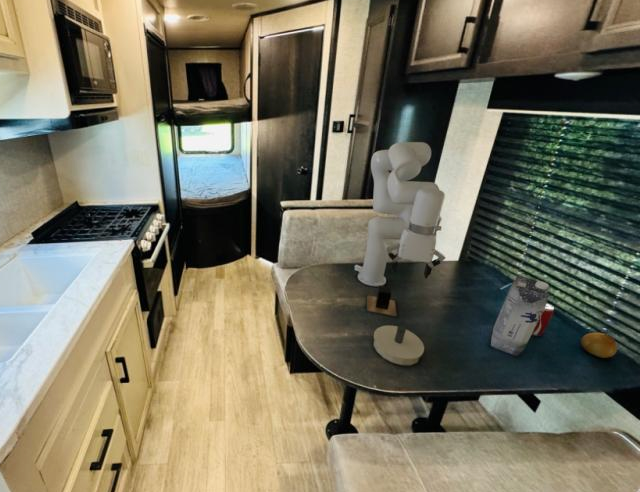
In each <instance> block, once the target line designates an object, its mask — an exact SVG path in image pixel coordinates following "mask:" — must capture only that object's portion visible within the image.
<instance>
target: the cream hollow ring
mask: <svg viewBox="0 0 640 492" xmlns="http://www.w3.org/2000/svg"><path fill="white" fill-rule="evenodd" d="M373 347H374V349H375V351H376V353H378V354H379V355H380V356H381V357H382V358H383V359H385V360H387V361H388V362H390V363H392V364H396V365H400V366H412V365H414V364H417V363H418V362H419V360H420V359H421V357H422V356H420V357H419V358H417V359H412V360H405V359H400V358H396V357H394V356H391V355H389V354H388V353H386V352H384V351H383V350H382V349H381V348H380V347H379V346H378V345H377V344H376V342H375V340H374V339H373Z"/></svg>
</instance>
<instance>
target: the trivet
mask: <svg viewBox="0 0 640 492" xmlns="http://www.w3.org/2000/svg"><path fill="white" fill-rule="evenodd" d="M375 301H376V296H373V295H368V294H367V295H366V311H368V312H372V313H377V314H383V315H389V316H393V317H397V307H396V300H394V299H390V302H389V306H388V310H386V309H381V308H376V306H375Z"/></svg>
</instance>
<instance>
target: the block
mask: <svg viewBox="0 0 640 492" xmlns="http://www.w3.org/2000/svg"><path fill="white" fill-rule="evenodd" d="M375 297H376V301H375V306H376V308H381V309H386V310H388V306H389V302H390V300H391V297H392V287H391V286H390V287H389V286H384V285H382V286H377V292H376V295H375Z"/></svg>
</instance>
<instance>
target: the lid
mask: <svg viewBox="0 0 640 492" xmlns="http://www.w3.org/2000/svg"><path fill="white" fill-rule="evenodd" d="M374 340H375V342H376V344H377V345H378V346H379V347H380V348H381V349H382V350H383V351H384V352H386V353H388V354H389V355H391V356H394V357H396V358H400V359H405V360H412V359H417V358H419V357H420V356H421V357H422V356H423V354H424V352H425V345H424V343H423V341H422V340H421V339H420V338H419V336H417V335H416V334H415V333H414V332H412V331H410V330H408V329H406V327H405V326H403V325H398V326H397V325H382V326H380V327H377V328H376V329H375V330H374V333H373V341H374ZM421 357H420V358H421Z"/></svg>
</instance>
